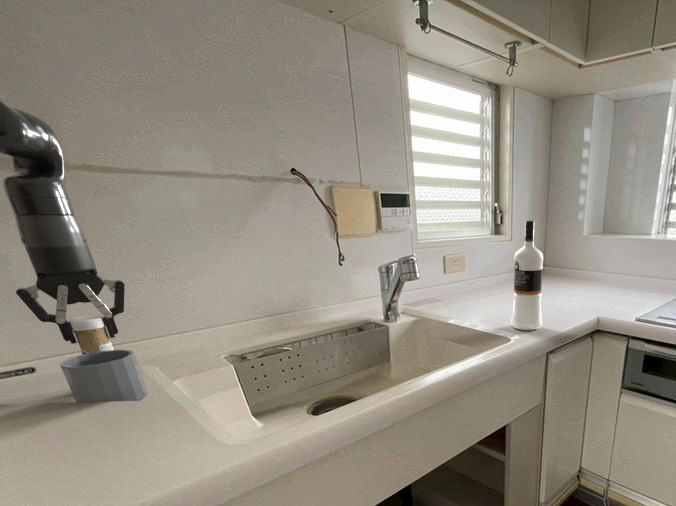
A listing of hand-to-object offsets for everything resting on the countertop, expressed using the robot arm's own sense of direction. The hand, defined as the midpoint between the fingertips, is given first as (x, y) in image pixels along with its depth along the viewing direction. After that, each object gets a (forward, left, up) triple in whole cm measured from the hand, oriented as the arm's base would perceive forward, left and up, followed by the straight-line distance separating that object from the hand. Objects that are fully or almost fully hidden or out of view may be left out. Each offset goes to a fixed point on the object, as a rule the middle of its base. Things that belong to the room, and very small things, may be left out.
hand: (93, 339), depth 75 cm
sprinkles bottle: (0, 0, -10) cm, 10 cm away
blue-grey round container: (+6, -7, -9) cm, 13 cm away
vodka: (+87, +40, -10) cm, 96 cm away
